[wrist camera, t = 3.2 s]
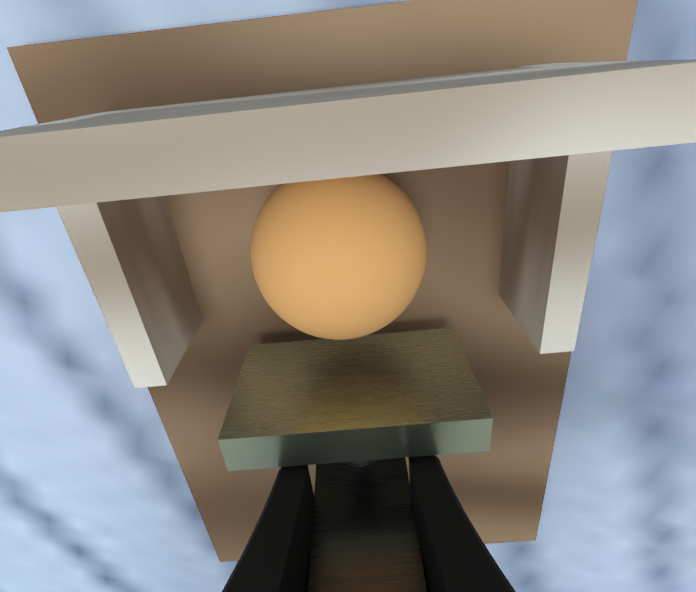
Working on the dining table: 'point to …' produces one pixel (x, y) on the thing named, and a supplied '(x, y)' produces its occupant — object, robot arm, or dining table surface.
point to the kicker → (357, 440)
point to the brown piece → (339, 162)
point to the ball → (338, 254)
